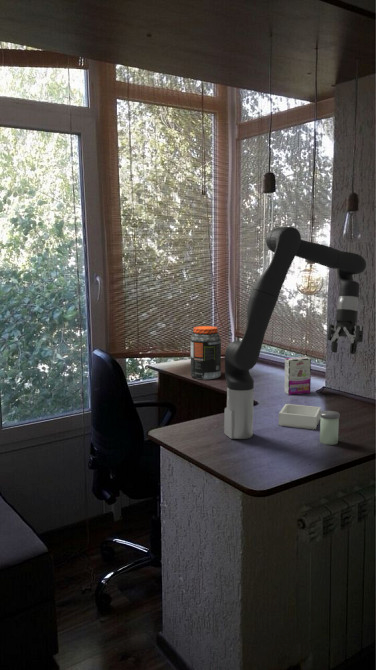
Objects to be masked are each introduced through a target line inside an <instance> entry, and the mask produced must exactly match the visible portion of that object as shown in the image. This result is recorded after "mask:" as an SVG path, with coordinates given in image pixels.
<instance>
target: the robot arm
mask: <svg viewBox="0 0 376 670" xmlns="http://www.w3.org/2000/svg"><path fill="white" fill-rule="evenodd" d="M265 244H266V247H267V249H268V250H269V251H271V252H272V253H273V256H272V258H271V261H270V263H269V265H268V266H267V268H265V269H264V272H262V274H261V275H260V276H259V277H258V279H257V280H256V282H255V283H254V286H253V288H252V290H251V292H250V295H249V298H248V302H247V308H246V328H245V332H244V334H243V336H242V339H241V341H240V340H233V341H232V342H231V341H230V343H228V344H227V346H226V348H225V352H224V376H225V377H224V378H225V382H226V407H224V419H223V420H224V422H223V423H224V424H223V425H224V428H223V430H224V432H223V434H224V435H226V436H227V437H228V438H229V439H231V440H232V439H234V440H236V439H237V440H245V439H246V440H247V439H250V438H252V437H253V436H254V435H253V432H254V393H255V392H254V391H255V390H254V389H255V387H254V386H255V383H254V379H253V377H252V375H251V373H250V370H252V369H253V368H254V367H255V366H256V365H257V362H258V361H259V358H260V353H261V349H262V346H263V342H264V339H265V338H264V337H265V334H266V332H267V329H268V327H269V324H270V321H271V318H272V315H273V312H274V310H275V308H276V306H277V302H278V299H279V296H280V293H281V291H282V287H283V286H284V283H285V280H286V277H287V275H288V272H289V269H290V268H291V265H292V263H293V261H294V259H295V258H296V257H297V258H301V259H305V260H307V261H309V262H313V263H315V264H318V265H320V266H323V267H326V268H330V269H333V270H335V269H336V271H337V276H338V277H337V278H338V282H339V289H338V290H339V291H338V298H337V304H336V317H335V321H336V324H329V326H328V333H327V341H330V342H331V348H330V350H331V353H338V347H339V346H338V344H339V341H340V339H341V338H345V337H347V338H348V339H349V341H350V346H349V347H350V348H349V353H350V355H355V354H356V353H357V349H358V348H357V347H358V344H359V343H362V342H363V338H364V337H363V336H364V325H360V324H357V325H356V323H357V322H358V314H359V304H360V303H359V298H360V297H359V294H360V283H359V282H358V281H357V280H354V279H353V277H354V276H353V275H359V274H362V273H363V272H365V270H366V268H367V262H366V260H365V258H364V257H363V256H362V255H361V254H359V253H355V252H350V251H349V252H348V251H344V250H340V249H337V248H334V247H332V246H329V245H327V244H322V243H321V244H320V243H317V242H313V241H308V240H304V239H302V237H301V232H300V231H299V230H298V229H297V228H296V227H294V226H293V227H292V226H280V227H275V228H272V229H271V230H270V231H268V232H267V235H266V238H265Z"/></svg>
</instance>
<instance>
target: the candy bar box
mask: <svg viewBox="0 0 376 670" xmlns="http://www.w3.org/2000/svg"><path fill="white" fill-rule="evenodd" d="M311 374H312V358H311V357H308V356H302V357H300V356H299V357H286V358H284V392H283V393H284V394H286V395H288V396H294V395H295V396H296V395H306V394H307V395H308V394H311V386H312V385H311V384H312V383H311V377H312V375H311Z"/></svg>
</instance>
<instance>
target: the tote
mask: <svg viewBox="0 0 376 670" xmlns="http://www.w3.org/2000/svg"><path fill="white" fill-rule="evenodd" d="M321 410H322V407H321V406H313V405H312V406H310V405H302V404H291V403H285V404H284V405H283V407H282V408H281V409H280V411H279V412H278V426H279V427H288V428H297V429H304V430H305V429H306V430H314V429H315V431H316V430H317V428H318V426H317V425H319V424H320V421H321V416H320V412H321Z"/></svg>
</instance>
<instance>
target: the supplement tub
mask: <svg viewBox="0 0 376 670" xmlns="http://www.w3.org/2000/svg"><path fill="white" fill-rule="evenodd" d="M218 330H219V329H218V327H217V326H211V325H201V326H200V325H199V326H194V327H193V333H192V335H190V336H191V337H190V340H189V341H190V345H189V347H190V375H191V377H192V378H194V379H199V380H214V379H218V378H219V377H221V376H222V375H221V374H222V339H221V336H220V335H219V331H218Z"/></svg>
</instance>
